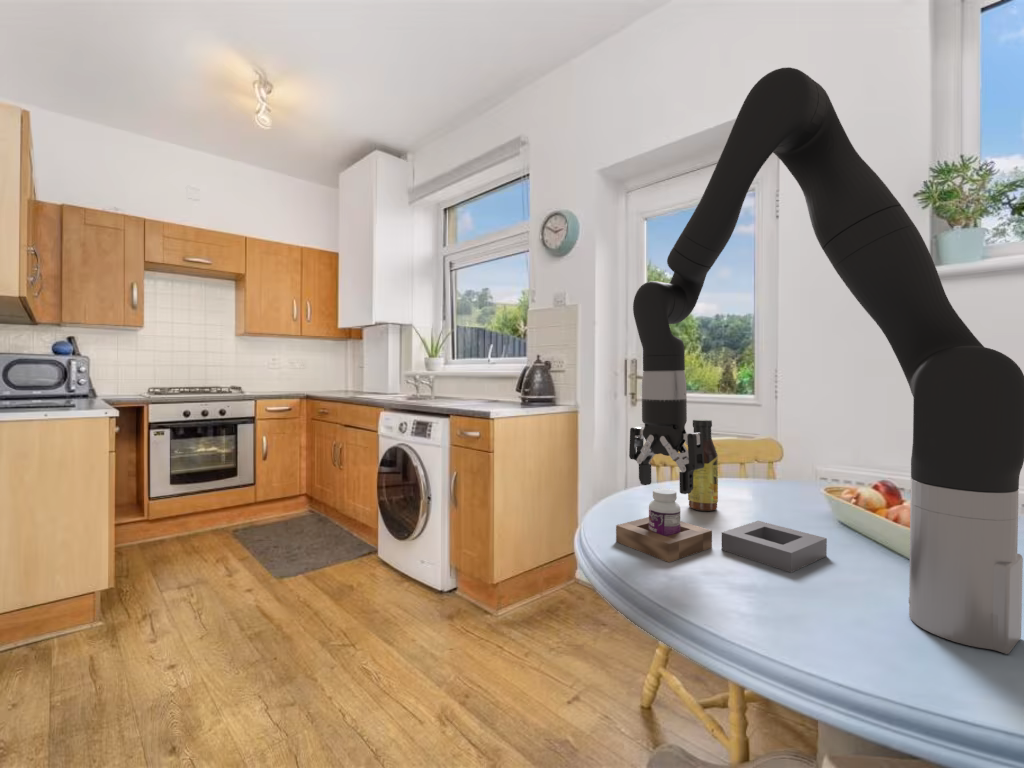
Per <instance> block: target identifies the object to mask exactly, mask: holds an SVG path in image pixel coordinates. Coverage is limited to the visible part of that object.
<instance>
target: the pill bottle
mask: <svg viewBox="0 0 1024 768" xmlns="http://www.w3.org/2000/svg"><path fill="white" fill-rule="evenodd" d="M677 497H678V496H677V491H676V490H674V489H670V488H662V487H661V488H654V489H653V490H652V498H653V500H652V501H650V503H649V505H648V517H649V531H652V532H655V533H657V534H660V535H663V536H670V535H673V534H676V533H680V521H681V506H680V504H679V503H678V502H676V501H677Z"/></svg>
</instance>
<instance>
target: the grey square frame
mask: <svg viewBox="0 0 1024 768" xmlns="http://www.w3.org/2000/svg"><path fill="white" fill-rule="evenodd" d="M827 540H828V539H827V537H823V536H819V535H817V534H812V533H807V532H804V531H800V530H795V529H792V528H788V527H784V526H780V525H776V524H773V523H770V522H766V521H762V520H756V521H752V522H751V523H747V524H743V525H741V526H737V527H734V528H731V529H728V530H726V531H725V530H724V531H722V532H721V551H724V552H728V553H731V554H734V555H737V556H740V557H742V558H745V559H748V560H752V561H754V562H758V563H761V564H763V565H767V566H770V567H773V568H777V569H779V570H781V571H782V570H783V571H785V572H789V573H794V572H796V571H798V570H800V569H802V568H804V567H806V566H808V565H810V564H813V563H815V562H817V561H819V560H821V559H823V558H824V559H825V558H826V557H827V555H828V553H827V549H828V548H827V546H828V544H827V543H828V541H827Z"/></svg>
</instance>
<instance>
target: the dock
mask: <svg viewBox="0 0 1024 768" xmlns="http://www.w3.org/2000/svg"><path fill="white" fill-rule="evenodd" d="M615 542H616V543H618V544H621V545H623V546H626V547H628V548H631V549H634V550H635V551H636V550H637V551H639V552H642V553H644V554H647V555H649V556H651V557H654V558H656V559H659V560H662V561H664V562H667V563H671V562H674V561H677V560H680V559H683V558H685V557H689V556H692V555H694V554H697V553H701V552H703V551H706V550H709V549H712V548H713V530H712V529H708V528H704V527H701V526H699V525H698V526H697V525H694V524H692V523H688V522H685V521H682V520H680V533H676V534H673V535H670V536H663V535H660V534H657V533H655V532H652V531H649V516H648V517H644V518H639V519H636V520H635V519H634V520H631V521H627V522H624V523H620V524H616V525H615Z"/></svg>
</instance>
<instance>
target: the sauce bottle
mask: <svg viewBox="0 0 1024 768" xmlns="http://www.w3.org/2000/svg"><path fill="white" fill-rule="evenodd" d="M692 427H693V433H698V432H700V433H702V435H703V450H704V468H701V469H696V470H694V472H693V490H691V492H690V493H688V494H687V499H688V507H689V508H690V507H691V509H693V510H696V511H699V512H701V511H703V512H711V511H715V510H717V509H718V502H719V471H718V470H719V467H718V465H719V464H718V463H719V459H718V457H719V456H718V453H717V451H716V448H715V445H714V442H713V439H712V427H713V421H712V419H705V418H704V419H703V418H702V419H692Z"/></svg>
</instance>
